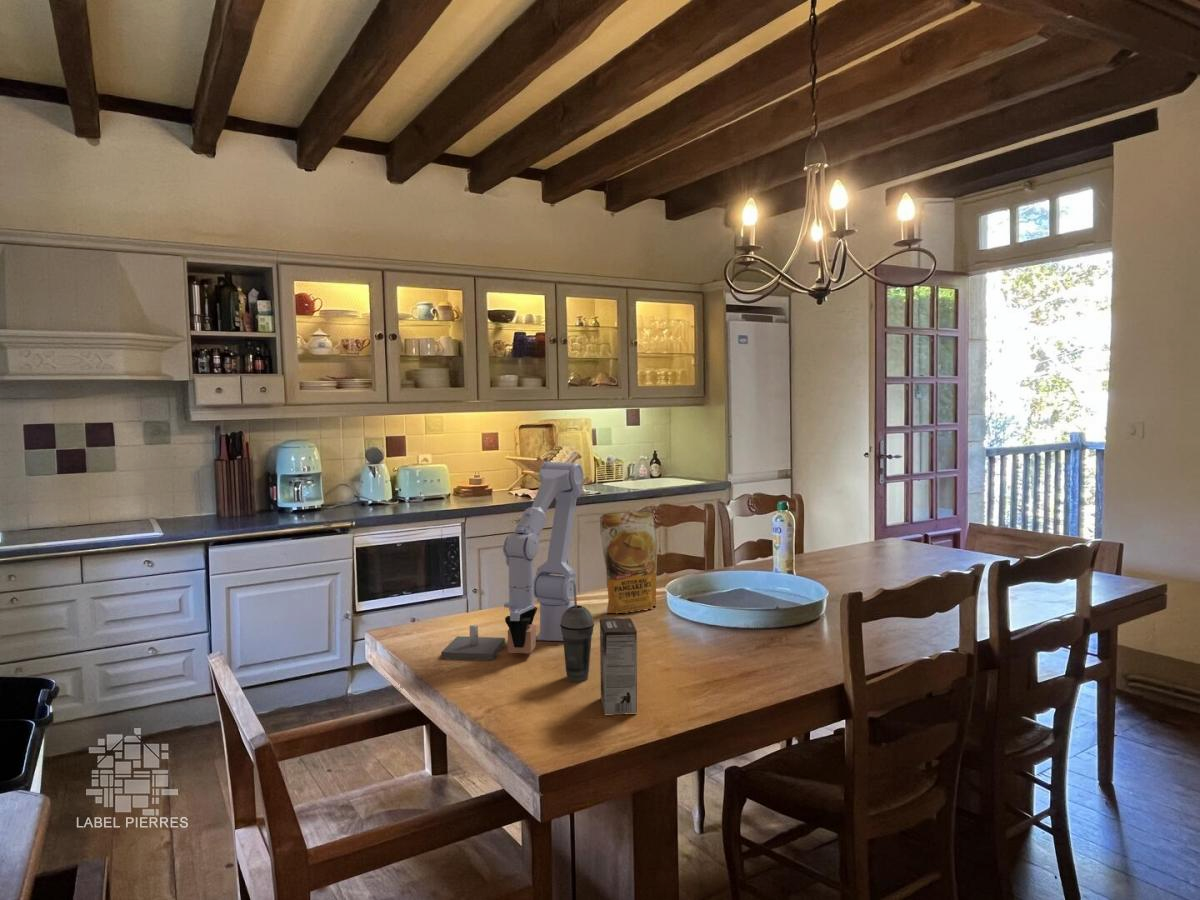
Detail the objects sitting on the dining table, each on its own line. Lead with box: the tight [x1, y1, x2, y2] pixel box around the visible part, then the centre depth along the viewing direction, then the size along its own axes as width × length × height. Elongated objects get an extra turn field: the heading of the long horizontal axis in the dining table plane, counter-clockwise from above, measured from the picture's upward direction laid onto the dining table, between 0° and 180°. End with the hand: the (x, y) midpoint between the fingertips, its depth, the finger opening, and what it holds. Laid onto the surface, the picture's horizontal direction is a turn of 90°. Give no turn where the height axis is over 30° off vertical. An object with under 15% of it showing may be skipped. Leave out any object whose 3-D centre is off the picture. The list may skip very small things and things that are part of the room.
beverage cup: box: [560, 583, 595, 683], centre depth 161 cm, size 7×7×20 cm
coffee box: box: [599, 617, 638, 715], centre depth 146 cm, size 9×6×16 cm
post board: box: [441, 624, 506, 661], centre depth 179 cm, size 12×12×6 cm
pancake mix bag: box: [599, 510, 658, 615], centre depth 214 cm, size 7×19×28 cm, turn 117°
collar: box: [507, 624, 537, 654], centre depth 176 cm, size 5×5×5 cm
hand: (521, 642), depth 176 cm, fingers closed on collar, 5 cm apart
